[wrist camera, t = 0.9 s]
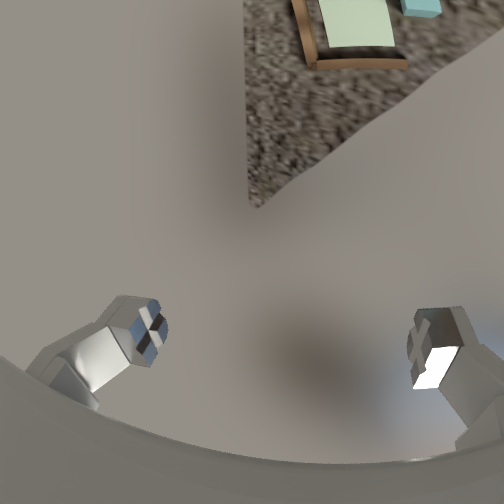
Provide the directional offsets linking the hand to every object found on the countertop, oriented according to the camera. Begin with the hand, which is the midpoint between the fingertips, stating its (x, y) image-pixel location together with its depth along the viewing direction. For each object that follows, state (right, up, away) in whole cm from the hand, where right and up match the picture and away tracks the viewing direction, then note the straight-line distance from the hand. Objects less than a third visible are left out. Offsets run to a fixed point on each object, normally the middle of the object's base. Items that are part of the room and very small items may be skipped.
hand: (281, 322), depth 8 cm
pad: (+14, +36, +20) cm, 43 cm away
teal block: (+22, +37, +14) cm, 45 cm away
